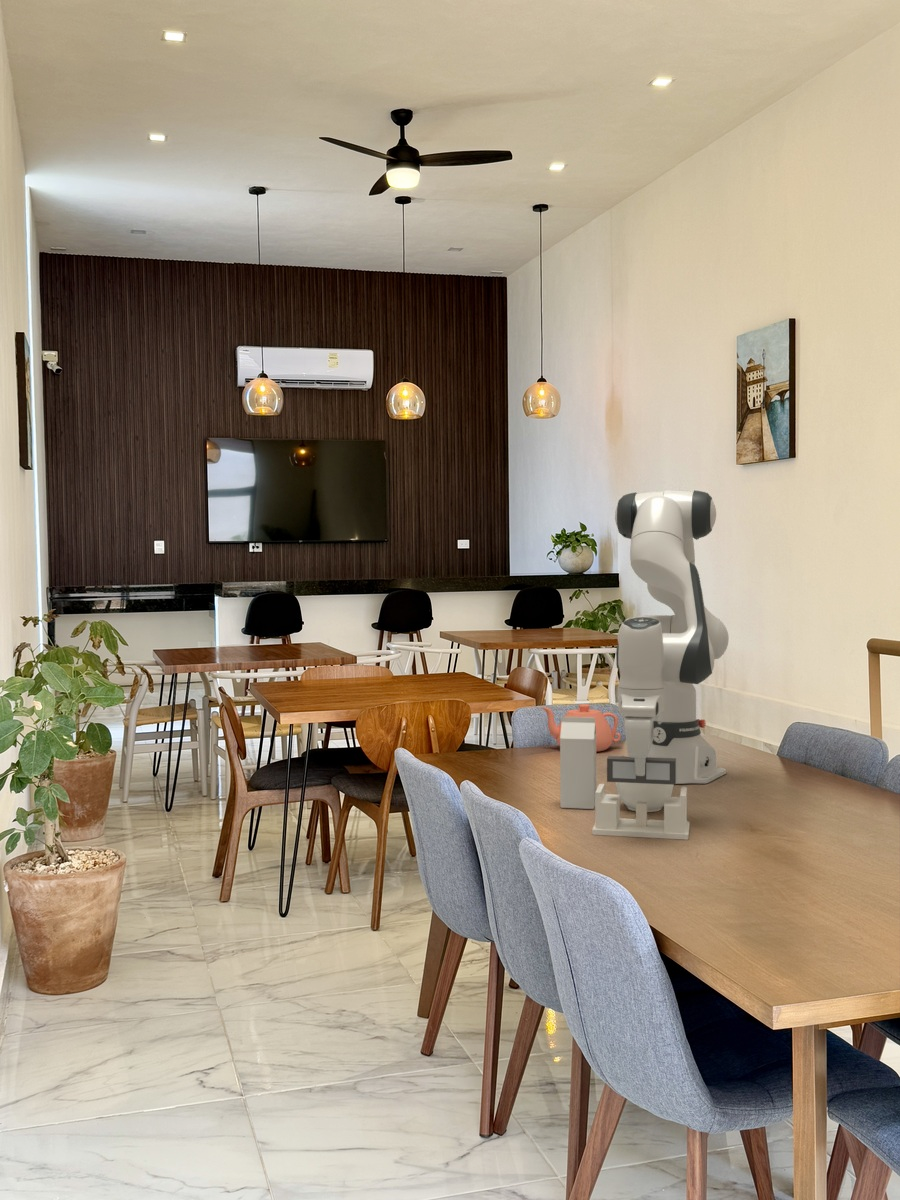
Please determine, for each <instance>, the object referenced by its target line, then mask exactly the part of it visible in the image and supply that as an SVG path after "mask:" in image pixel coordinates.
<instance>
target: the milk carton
mask: <svg viewBox="0 0 900 1200" xmlns="http://www.w3.org/2000/svg"><path fill="white" fill-rule="evenodd" d="M561 721H562V723H561V722H560V723H561V734H560V746H559V759H560V760H559V761H560V762H559V766H560V768H559V769H560V770H559V771H560V773H559V775H560V779H559V780H560V783H559V785H560V789H559V790H560V795H559V796H560V799H559V800H560V803H559V804H560V808H562V809H583V810H585V809H587V810H593V809H594V810H595V792H596V790H597V752H596V727H595V718H593V717H564V716H561Z"/></svg>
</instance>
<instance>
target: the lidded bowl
mask: <svg viewBox="0 0 900 1200" xmlns="http://www.w3.org/2000/svg"><path fill="white" fill-rule="evenodd" d="M614 783H615V789H616V792H617V794H619V795H620V802H622V803H623V804H624V805H625V806H626V809H628V810H629V811H633V812H636V802H637V801H643V802H647V813H655V812H659V811H660V812H661V810H662V808H664V804H665V799H666V797H672V794H673V790H674V785H672V784H648V783H625V782H614Z"/></svg>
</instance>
